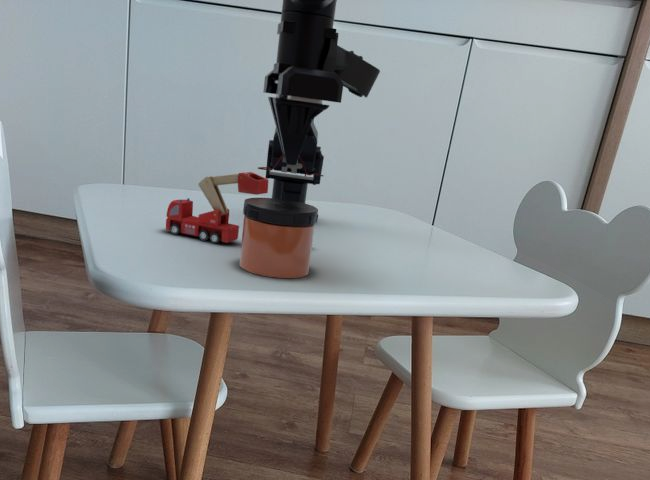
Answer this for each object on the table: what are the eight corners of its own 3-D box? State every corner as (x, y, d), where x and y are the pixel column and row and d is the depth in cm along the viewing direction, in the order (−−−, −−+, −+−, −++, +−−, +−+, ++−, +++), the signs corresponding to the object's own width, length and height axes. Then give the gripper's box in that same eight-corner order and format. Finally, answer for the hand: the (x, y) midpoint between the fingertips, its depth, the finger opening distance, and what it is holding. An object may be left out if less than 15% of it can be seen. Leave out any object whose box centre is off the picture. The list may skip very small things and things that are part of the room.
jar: (237, 256, 86) (242, 199, 83) (302, 262, 87) (310, 206, 85) (241, 274, 78) (248, 212, 76) (313, 281, 80) (322, 219, 77)
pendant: (253, 169, 79) (255, 145, 78) (258, 169, 83) (260, 146, 82) (321, 177, 79) (324, 153, 78) (323, 176, 83) (326, 153, 82)
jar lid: (240, 207, 84) (242, 194, 83) (310, 214, 85) (311, 202, 85) (245, 221, 76) (247, 207, 75) (322, 228, 77) (324, 215, 77)
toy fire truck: (174, 228, 96) (179, 158, 93) (262, 247, 92) (270, 175, 89) (161, 231, 93) (165, 159, 90) (251, 251, 89) (259, 176, 86)
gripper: (403, 20, 67) (377, 182, 72) (359, 33, 84) (341, 163, 89) (291, 2, 65) (273, 170, 70) (270, 19, 82) (256, 153, 87)
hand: (290, 164), depth 79 cm, fingers closed on pendant
